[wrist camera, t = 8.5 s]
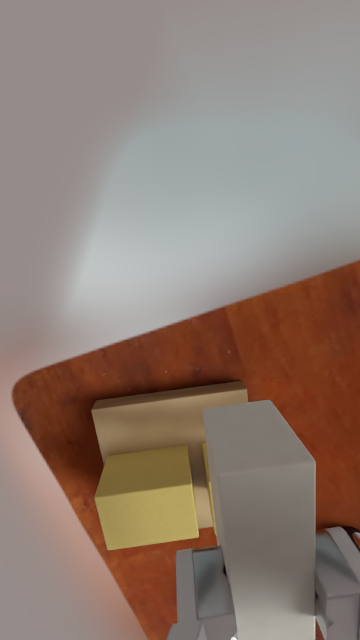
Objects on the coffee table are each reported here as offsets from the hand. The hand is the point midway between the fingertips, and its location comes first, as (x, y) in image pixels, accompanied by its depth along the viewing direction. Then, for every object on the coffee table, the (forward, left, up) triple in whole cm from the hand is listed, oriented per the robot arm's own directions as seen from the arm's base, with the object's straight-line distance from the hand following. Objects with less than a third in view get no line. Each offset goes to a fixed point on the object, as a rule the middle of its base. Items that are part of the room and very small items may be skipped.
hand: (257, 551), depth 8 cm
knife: (+6, 0, -2) cm, 6 cm away
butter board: (+8, -3, -14) cm, 17 cm away
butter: (+8, -6, -12) cm, 16 cm away
